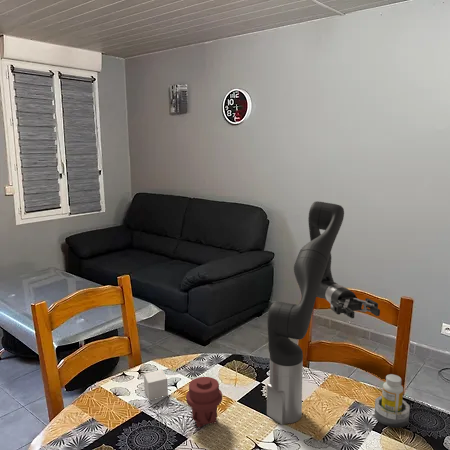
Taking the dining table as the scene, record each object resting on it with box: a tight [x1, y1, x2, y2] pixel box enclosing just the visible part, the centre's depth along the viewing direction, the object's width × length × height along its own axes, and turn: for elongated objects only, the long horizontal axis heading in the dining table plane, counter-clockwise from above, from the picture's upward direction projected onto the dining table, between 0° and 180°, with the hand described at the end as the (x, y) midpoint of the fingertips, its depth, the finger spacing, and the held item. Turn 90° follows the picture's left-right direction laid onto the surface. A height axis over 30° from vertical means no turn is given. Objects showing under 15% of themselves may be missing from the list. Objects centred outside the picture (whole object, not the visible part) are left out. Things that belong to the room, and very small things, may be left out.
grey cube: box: [143, 369, 169, 401], centre depth 132 cm, size 6×6×6 cm
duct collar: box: [374, 395, 411, 429], centre depth 119 cm, size 9×9×4 cm
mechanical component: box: [185, 376, 223, 428], centre depth 118 cm, size 12×10×10 cm
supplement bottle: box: [381, 373, 404, 413], centre depth 118 cm, size 5×5×10 cm
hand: (366, 314), depth 129 cm, fingers open, 8 cm apart
